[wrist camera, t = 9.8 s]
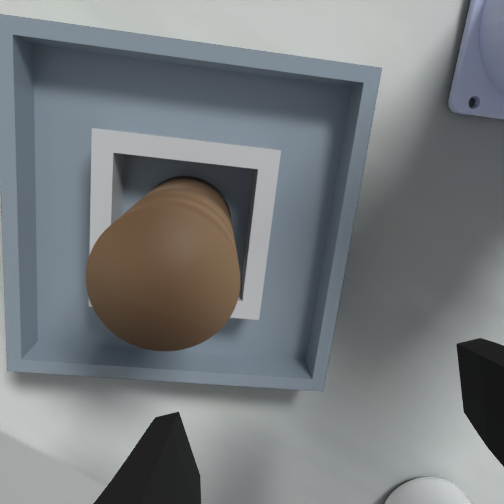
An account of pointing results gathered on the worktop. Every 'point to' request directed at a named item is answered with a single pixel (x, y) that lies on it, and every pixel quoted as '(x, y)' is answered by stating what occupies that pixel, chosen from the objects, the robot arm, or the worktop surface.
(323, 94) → the candle dish
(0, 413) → the worktop surface
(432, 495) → the drinking glass
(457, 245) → the worktop surface
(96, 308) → the walnut peg
